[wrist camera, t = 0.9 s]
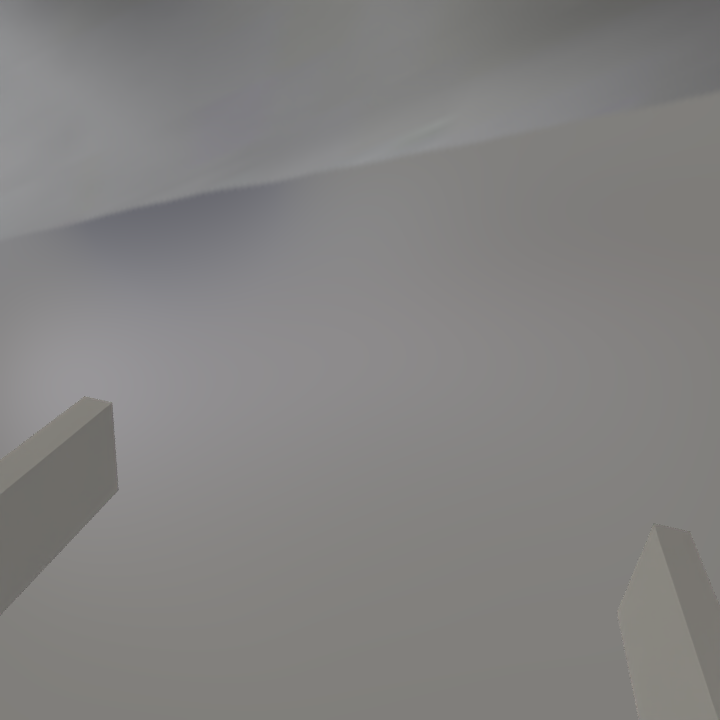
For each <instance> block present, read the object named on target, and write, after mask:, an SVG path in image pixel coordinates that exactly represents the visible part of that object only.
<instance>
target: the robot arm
mask: <svg viewBox="0 0 720 720" xmlns="http://www.w3.org/2000/svg"><path fill="white" fill-rule="evenodd" d="M117 491H118V478H117V463H116V450H115V436H114V422H113V408H112V402H107V401H102V400H98V399H94V398H89V397H83V398H82V399H81V400H79V401H78V402H77V403H75V404H74V405H73V406H71V407H70V408H69V409H67V410H66V411H65V412H63V413H62V414H61V415H59V416H58V417H57V418H55V419H54V420H53V421H51V422H50V423H49V424H47V425H46V426H45V427H43V428H42V429H41V430H39V431H38V432H37V433H35V434H34V435H33V436H31V437H30V438H29V439H27V440H26V441H25V442H23V443H22V444H21V445H19V446H18V447H17V448H15V449H14V450H13V451H11V452H10V453H9V454H7V455H6V456H5V457H3V458H2V459H1V460H0V615H1V614H2V613H3V612H4V611H5V610H6V609H7V608H8V607H9V606H10V604H11V603H12V602H13V601H14V600H15V599H16V598H17V597H18V596H19V595H20V594H21V593H22V592H23V591H24V590H25V588H27V587H28V585H29V584H30V583H31V582H32V581H33V580H34V579H35V578H36V577H37V576H38V575H39V574H40V572H42V570H44V568H45V567H46V566H47V565H48V564H49V563H50V562H51V561H52V560H53V559H54V558H55V557H56V556H57V555H58V554H59V553H60V552H61V551H62V549H63V548H64V547H65V546H66V545H67V544H68V543H69V542H70V541H71V540H72V539H73V538H74V537H75V536H76V535H77V534H78V533H79V531H80V530H81V529H82V528H83V527H84V526H85V525H86V524H87V523H88V522H89V521H90V520H91V519H92V518H93V517H94V515H95V514H96V513H97V512H98V511H99V510H100V509H101V508H102V507H103V506H104V505H105V504H106V503H107V502H108V501H109V500H110V499H111V497H112V496H113V495H114V494H115V493H116V492H117ZM617 616H618V621H619V625H620V630H621V635H622V640H623V645H624V650H625V654H626V660H627V664H628V669H629V674H630V679H631V684H632V689H633V694H634V699H635V703H636V708H637V713H638V718H639V720H720V605H719V602H718V600H717V597H716V595H715V592H714V590H713V587H712V585H711V583H710V580H709V578H708V575H707V573H706V570H705V568H704V565H703V563H702V560H701V558H700V555H699V553H698V550H697V548H696V545H695V543H694V540H693V538H692V535H691V533H690V532H689V531H685V530H680V529H676V528H672V527H667V526H663V525H658V524H653V526H652V529H651V532H650V534H649V536H648V539H647V541H646V543H645V546H644V548H643V551H642V553H641V556H640V558H639V560H638V563H637V565H636V567H635V570H634V572H633V575H632V577H631V579H630V582H629V584H628V587H627V589H626V592H625V594H624V596H623V599H622V601H621V604H620V606H619V608H618V611H617Z"/></svg>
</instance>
